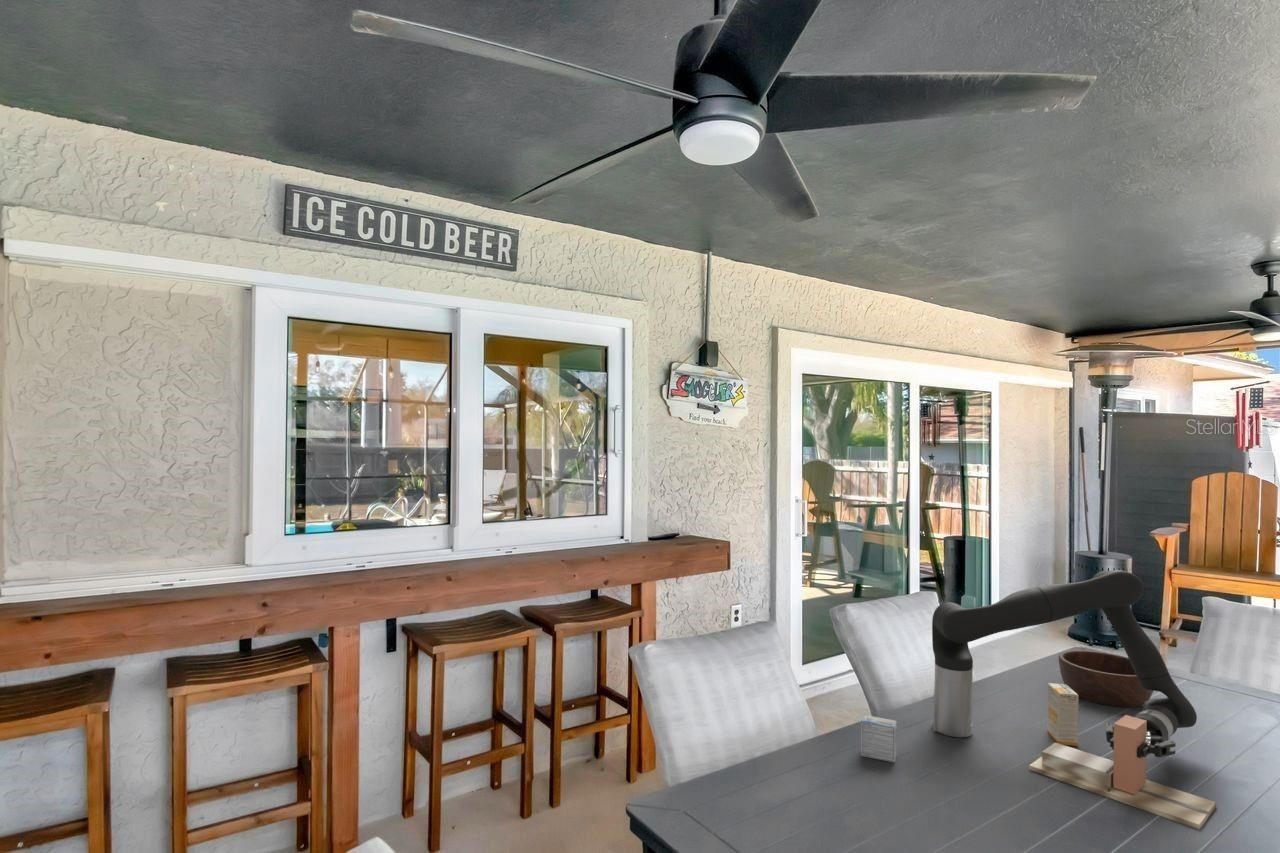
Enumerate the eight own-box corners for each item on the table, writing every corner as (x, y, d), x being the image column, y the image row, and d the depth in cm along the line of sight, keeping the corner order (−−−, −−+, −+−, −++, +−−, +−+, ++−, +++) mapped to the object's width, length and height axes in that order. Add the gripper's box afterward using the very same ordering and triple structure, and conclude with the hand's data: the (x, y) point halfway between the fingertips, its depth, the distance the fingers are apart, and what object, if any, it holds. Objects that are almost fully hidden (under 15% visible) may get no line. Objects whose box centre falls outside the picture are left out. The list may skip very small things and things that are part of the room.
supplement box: (1079, 746, 179) (1079, 694, 179) (1058, 744, 180) (1058, 693, 180) (1066, 733, 187) (1067, 683, 187) (1046, 731, 188) (1047, 682, 188)
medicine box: (896, 756, 172) (897, 720, 172) (895, 763, 168) (895, 727, 168) (862, 749, 175) (863, 714, 175) (860, 756, 171) (861, 720, 171)
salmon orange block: (1113, 787, 155) (1114, 723, 156) (1124, 776, 161) (1125, 714, 161) (1134, 794, 152) (1135, 729, 153) (1145, 783, 158) (1146, 720, 158)
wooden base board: (1029, 769, 166) (1029, 751, 166) (1052, 753, 175) (1052, 736, 175) (1199, 829, 141) (1199, 808, 141) (1215, 806, 150) (1216, 787, 151)
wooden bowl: (1044, 679, 230) (1044, 647, 230) (1127, 684, 226) (1128, 652, 227) (1081, 708, 205) (1081, 673, 205) (1175, 715, 202) (1175, 679, 202)
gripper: (1114, 704, 171) (1089, 721, 160) (1187, 723, 160) (1165, 743, 149) (1114, 735, 171) (1089, 755, 160) (1186, 756, 160) (1165, 779, 149)
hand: (1126, 749), depth 155 cm, fingers closed on salmon orange block, 4 cm apart
